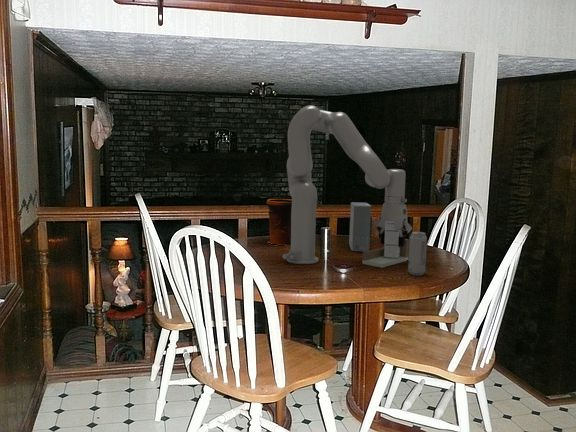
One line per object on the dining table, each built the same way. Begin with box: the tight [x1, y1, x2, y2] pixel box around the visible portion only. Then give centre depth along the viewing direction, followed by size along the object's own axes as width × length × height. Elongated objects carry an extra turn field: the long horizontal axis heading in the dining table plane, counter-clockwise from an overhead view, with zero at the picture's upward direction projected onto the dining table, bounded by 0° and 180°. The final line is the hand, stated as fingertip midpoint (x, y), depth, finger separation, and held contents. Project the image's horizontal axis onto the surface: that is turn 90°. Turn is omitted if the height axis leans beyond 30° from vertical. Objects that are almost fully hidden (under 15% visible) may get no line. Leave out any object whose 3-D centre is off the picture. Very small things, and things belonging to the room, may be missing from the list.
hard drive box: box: [348, 201, 372, 252], centre depth 243 cm, size 16×8×20 cm, turn 179°
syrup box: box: [383, 221, 400, 258], centre depth 219 cm, size 6×6×14 cm
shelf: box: [361, 238, 410, 268], centre depth 217 cm, size 19×9×8 cm, turn 137°
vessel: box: [266, 198, 292, 246], centre depth 253 cm, size 14×14×20 cm
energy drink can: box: [407, 231, 428, 276], centre depth 198 cm, size 6×6×15 cm
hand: (392, 244), depth 219 cm, fingers closed on syrup box, 7 cm apart
